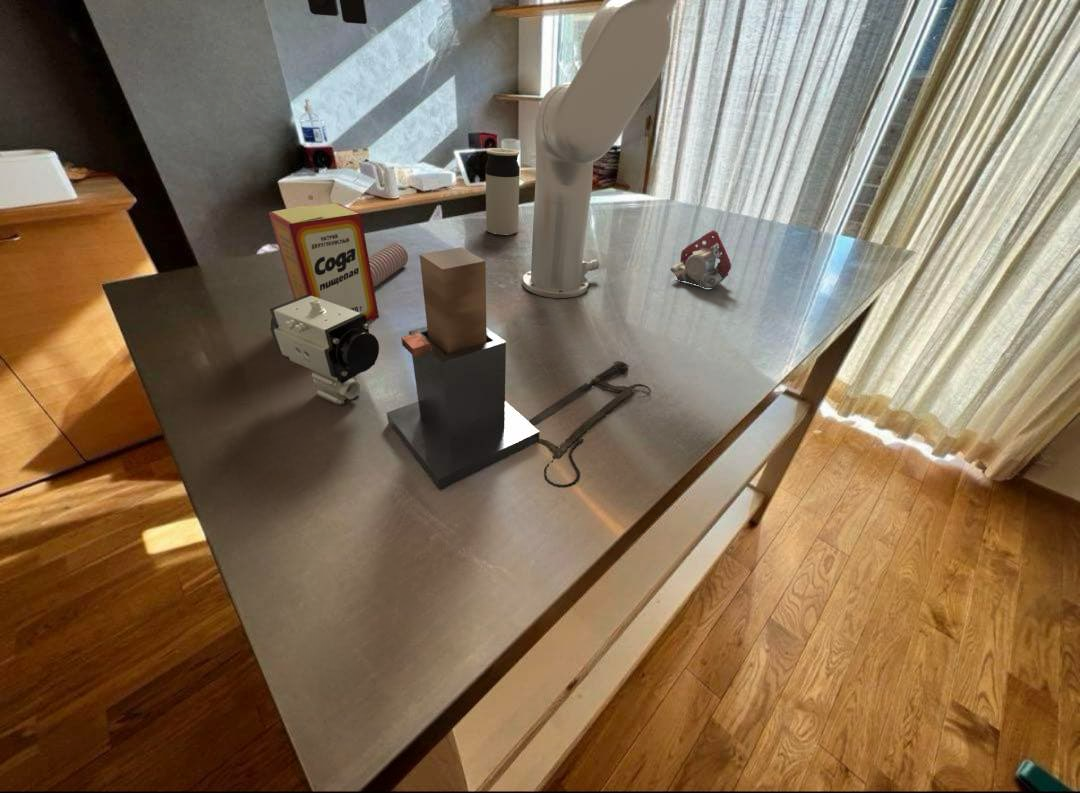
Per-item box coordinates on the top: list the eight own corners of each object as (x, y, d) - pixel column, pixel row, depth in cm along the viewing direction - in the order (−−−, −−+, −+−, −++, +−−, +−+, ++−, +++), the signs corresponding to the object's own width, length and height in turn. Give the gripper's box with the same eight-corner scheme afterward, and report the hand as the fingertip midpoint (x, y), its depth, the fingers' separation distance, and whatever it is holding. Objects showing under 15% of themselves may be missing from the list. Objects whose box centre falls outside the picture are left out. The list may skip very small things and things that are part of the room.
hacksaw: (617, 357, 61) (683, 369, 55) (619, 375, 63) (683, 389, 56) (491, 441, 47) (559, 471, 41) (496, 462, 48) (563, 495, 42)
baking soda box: (358, 303, 72) (337, 200, 63) (379, 317, 69) (360, 210, 59) (300, 319, 66) (267, 209, 57) (319, 335, 63) (287, 220, 54)
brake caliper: (740, 272, 89) (741, 233, 79) (713, 312, 88) (710, 276, 78) (693, 258, 95) (688, 219, 85) (666, 295, 93) (659, 260, 84)
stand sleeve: (480, 388, 55) (477, 293, 47) (538, 441, 47) (546, 338, 40) (388, 423, 48) (368, 319, 41) (439, 490, 41) (427, 379, 34)
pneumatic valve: (322, 371, 56) (296, 281, 49) (390, 401, 52) (374, 308, 45) (283, 392, 52) (249, 298, 45) (354, 426, 48) (329, 329, 41)
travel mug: (516, 237, 107) (519, 154, 96) (484, 235, 107) (483, 151, 96) (518, 228, 113) (521, 149, 102) (488, 226, 113) (487, 147, 102)
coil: (360, 276, 71) (410, 244, 85) (334, 270, 71) (388, 238, 85) (363, 302, 74) (410, 267, 88) (337, 296, 74) (389, 261, 88)
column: (468, 402, 49) (461, 246, 39) (489, 421, 47) (487, 261, 36) (435, 415, 47) (417, 254, 37) (454, 436, 44) (441, 269, 34)
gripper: (303, -241, 39) (343, 13, 49) (370, -157, 53) (391, 27, 63) (218, -247, 39) (277, 8, 49) (308, -161, 53) (339, 24, 63)
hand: (341, 19), depth 56 cm, fingers open, 9 cm apart
